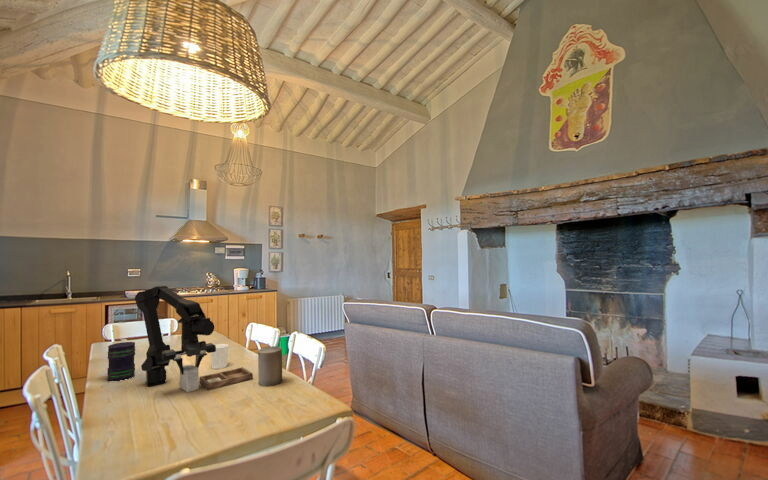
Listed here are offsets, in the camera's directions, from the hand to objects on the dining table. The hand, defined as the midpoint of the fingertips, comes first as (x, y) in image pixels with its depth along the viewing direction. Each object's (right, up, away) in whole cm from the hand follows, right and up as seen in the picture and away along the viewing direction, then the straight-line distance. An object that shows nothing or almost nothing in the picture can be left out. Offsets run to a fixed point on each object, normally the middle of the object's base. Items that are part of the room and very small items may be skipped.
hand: (189, 372), depth 142 cm
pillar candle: (+31, -6, +6) cm, 32 cm away
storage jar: (-38, -8, +14) cm, 41 cm away
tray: (+11, -7, +8) cm, 15 cm away
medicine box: (0, -7, 0) cm, 7 cm away
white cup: (-1, -8, +28) cm, 29 cm away
